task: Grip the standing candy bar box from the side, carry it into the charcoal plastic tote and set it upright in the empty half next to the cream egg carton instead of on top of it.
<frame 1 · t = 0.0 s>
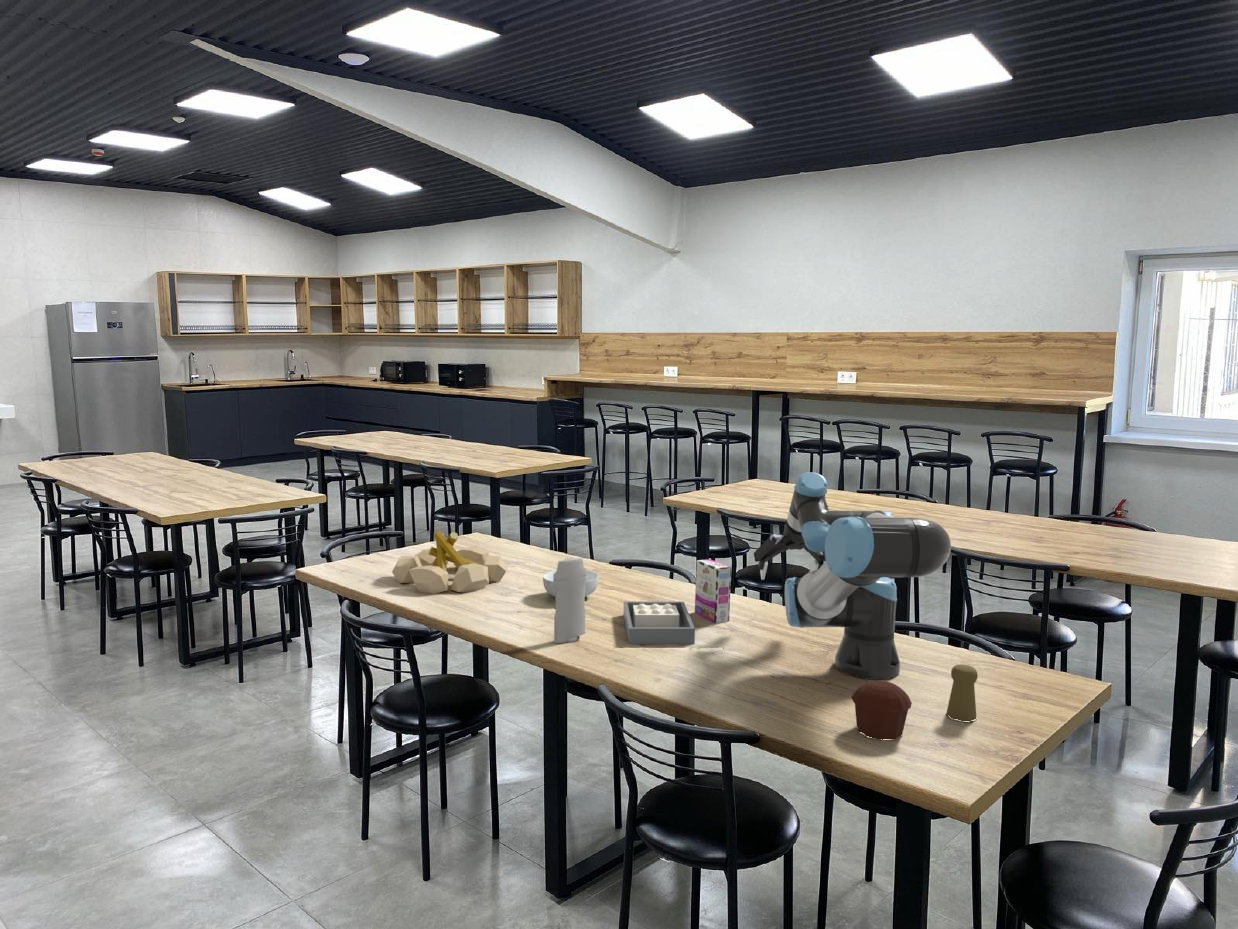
hand: (786, 575, 240), 15 cm above the table, tool tilted 35°, fingers open, 13 cm apart
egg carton: (655, 622, 244), point 1 cm above the table, touching tote
candy bar box: (711, 620, 250), on the table
tote: (657, 632, 238), on the table
cereal bowl: (570, 598, 270), on the table
campfire: (451, 581, 288), on the table
muffin: (879, 732, 179), on the table
cork: (961, 717, 187), on the table
tall pale column: (569, 640, 231), on the table
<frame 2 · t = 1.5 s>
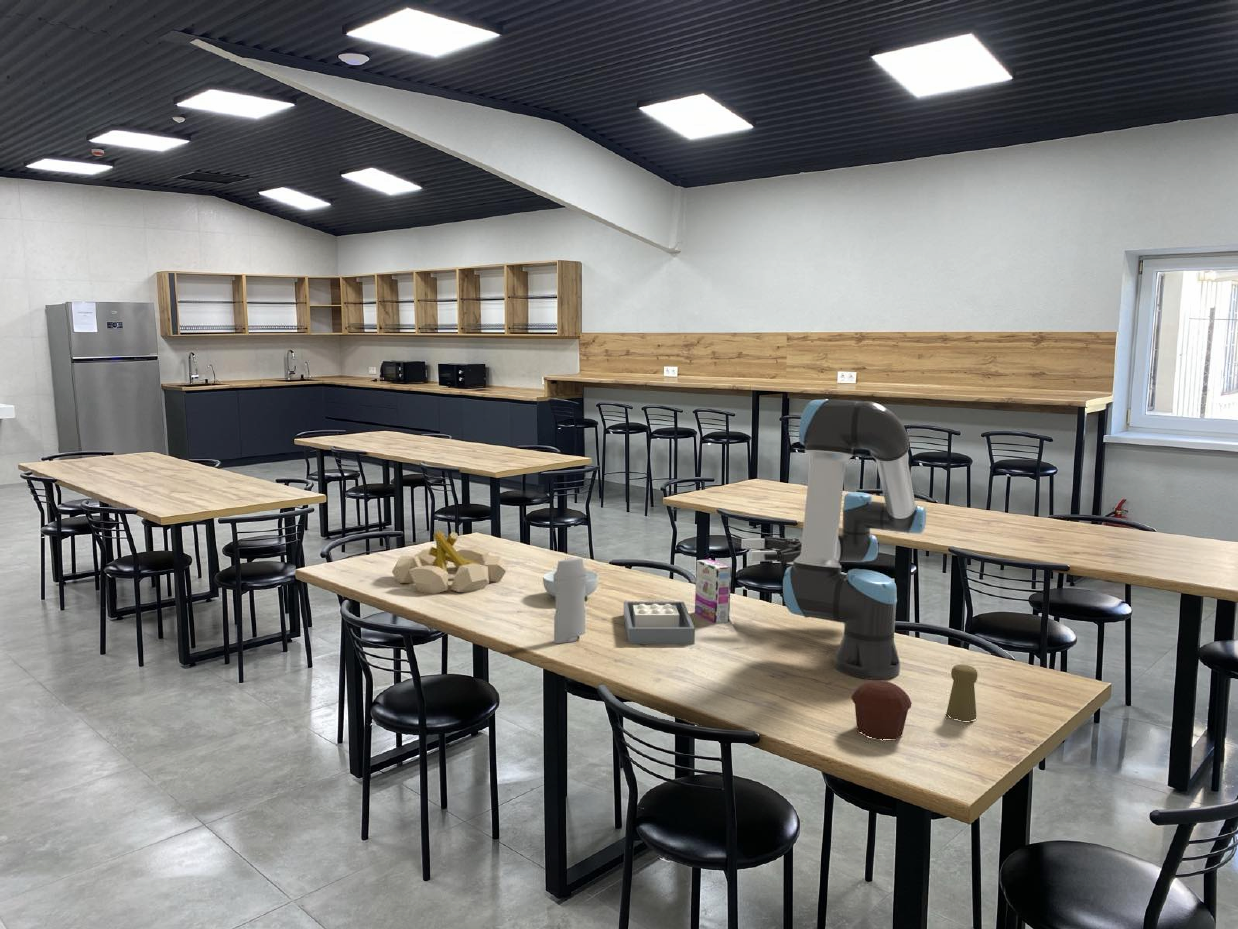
hand: (746, 549, 247), 20 cm above the table, tool horizontal, fingers open, 13 cm apart
nothing on the table moved.
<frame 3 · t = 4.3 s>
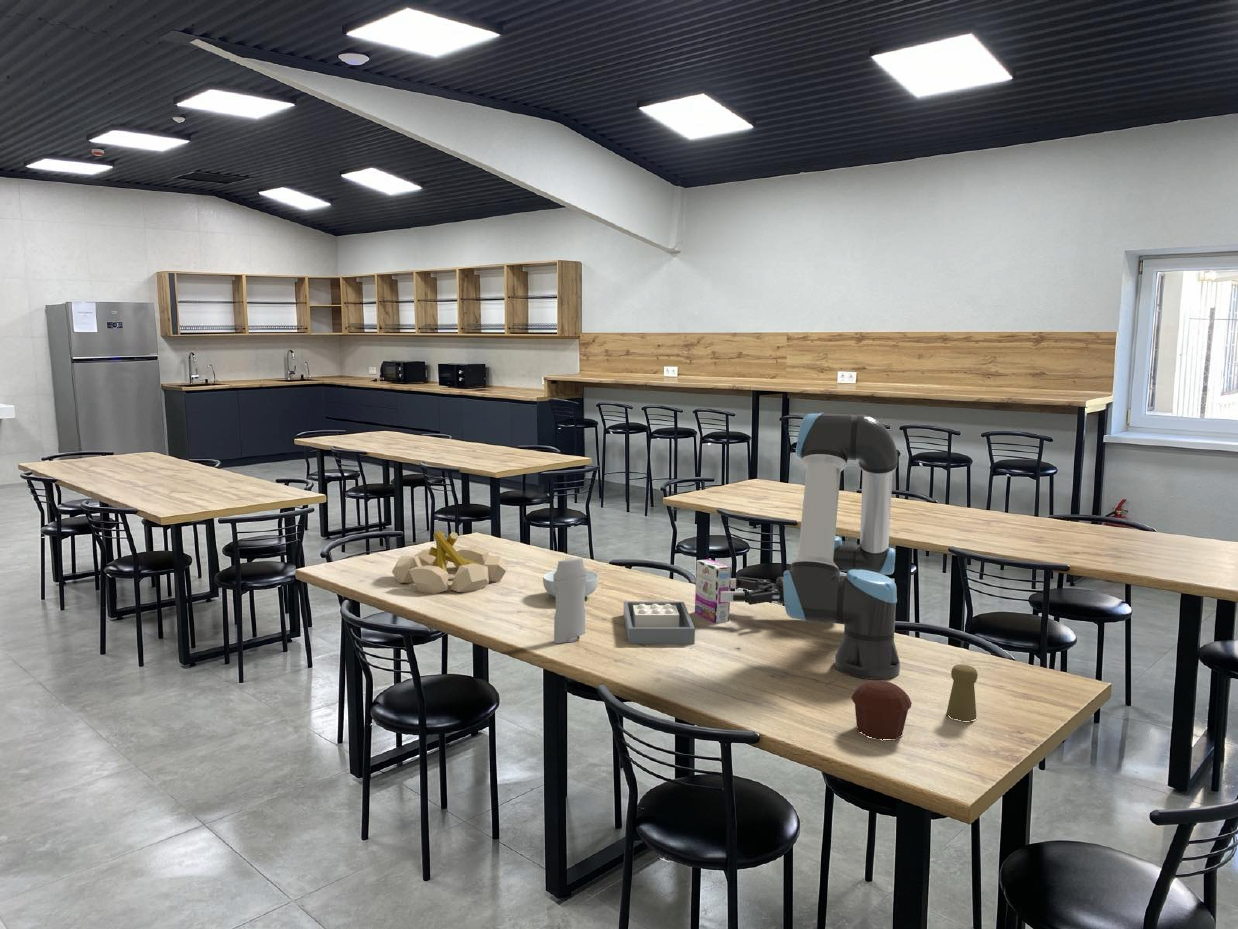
hand: (716, 589, 250), 8 cm above the table, tool horizontal, fingers open, 13 cm apart
candy bar box: (711, 620, 250), on the table, touching gripper
everything else where it was.
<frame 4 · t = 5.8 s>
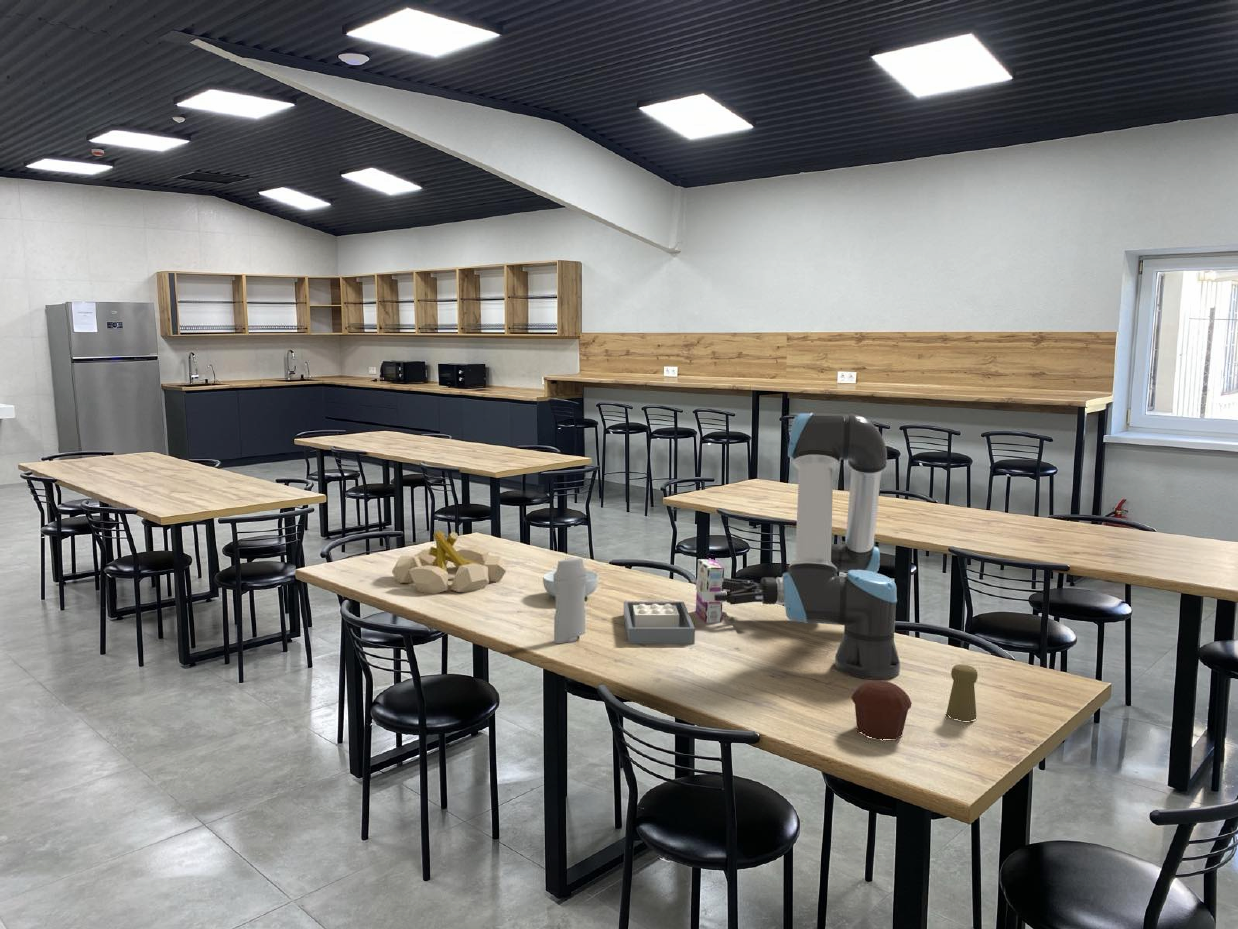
hand: (699, 590, 249), 8 cm above the table, tool horizontal, fingers closed on candy bar box, 11 cm apart
candy bar box: (708, 620, 250), on the table, touching gripper
everything else where it was.
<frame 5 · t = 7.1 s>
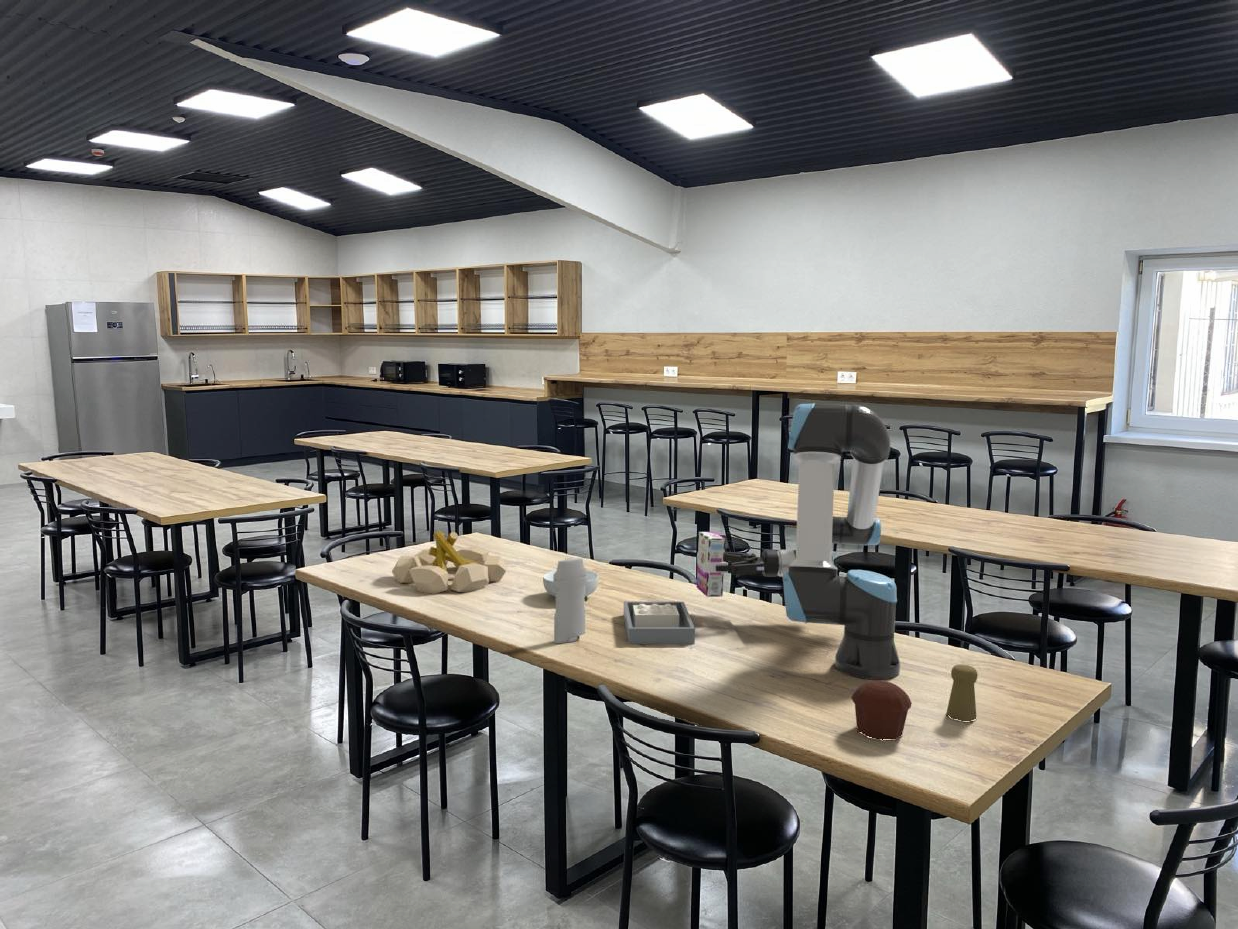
hand: (700, 562, 248), 16 cm above the table, tool horizontal, fingers closed on candy bar box, 11 cm apart
candy bar box: (709, 592, 249), point 8 cm above the table, touching gripper
everything else where it was.
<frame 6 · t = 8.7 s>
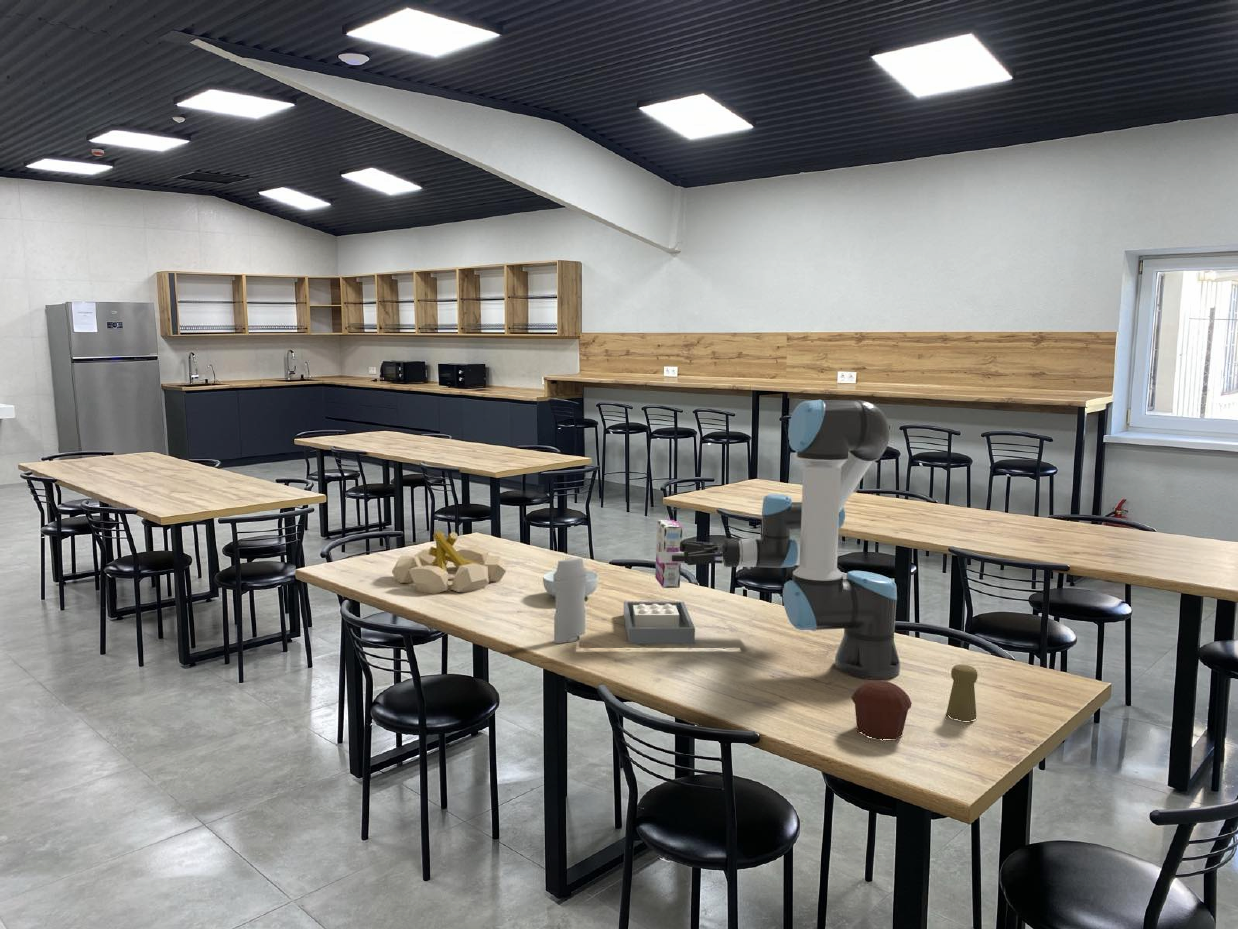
hand: (657, 552, 237), 22 cm above the table, tool horizontal, fingers closed on candy bar box, 11 cm apart
candy bar box: (667, 583, 238), point 13 cm above the table, touching gripper
everything else where it was.
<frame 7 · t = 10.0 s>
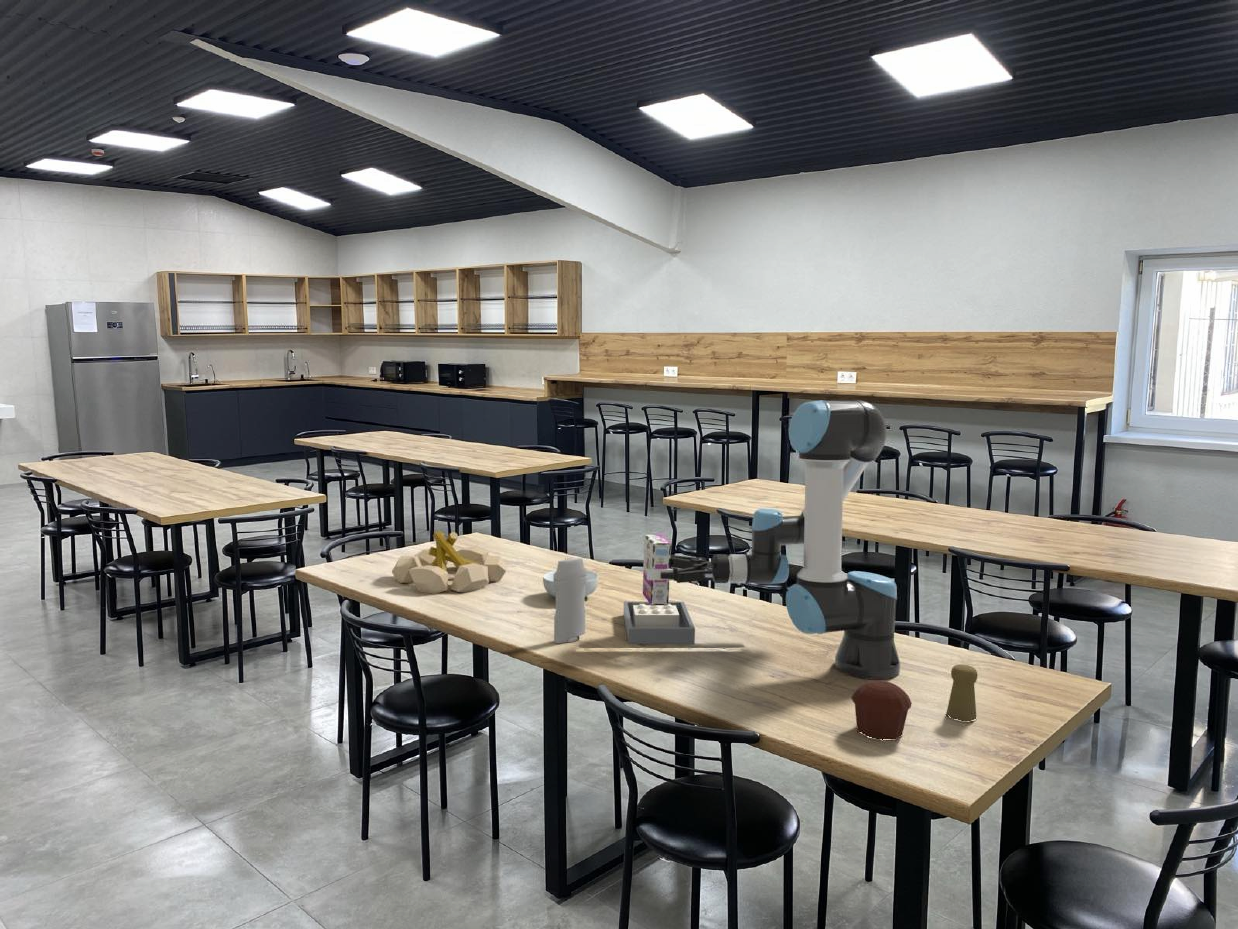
hand: (645, 568, 231), 19 cm above the table, tool horizontal, fingers closed on candy bar box, 11 cm apart
candy bar box: (655, 600, 232), point 10 cm above the table, touching gripper
everything else where it was.
when the fingers open (11 cm above the table, at t = 11.9 s): candy bar box drops 2 cm, resting on tote.
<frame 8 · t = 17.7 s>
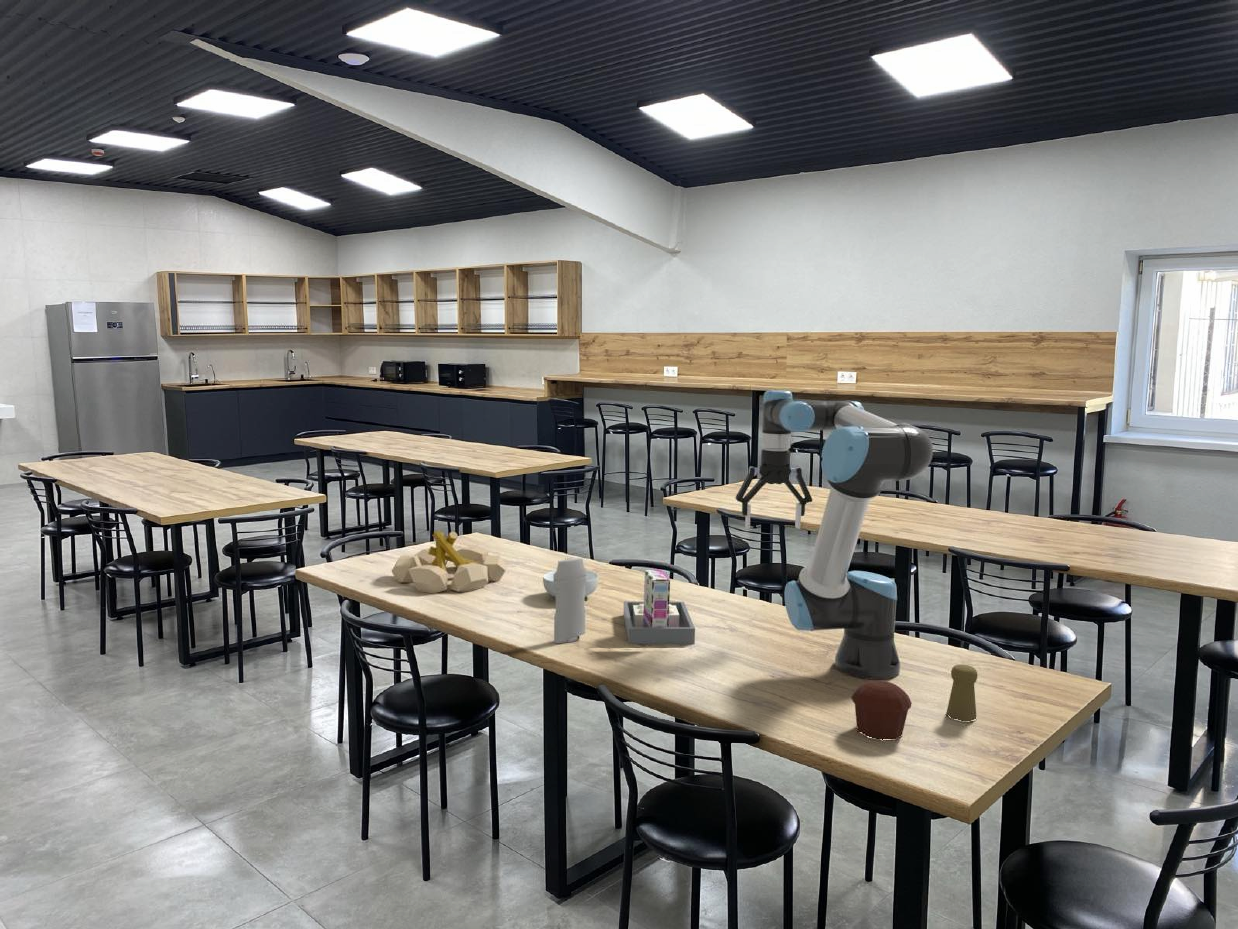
hand: (772, 527, 237), 29 cm above the table, tool pointing down, fingers open, 13 cm apart
candy bar box: (655, 635, 233), point 1 cm above the table, touching tote
everything else where it was.
at the end: candy bar box 0.9 cm from the target spot on the tote, point 0.8 cm above the tote's base; candy bar box tilted 0°; candy bar box touching tote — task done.
